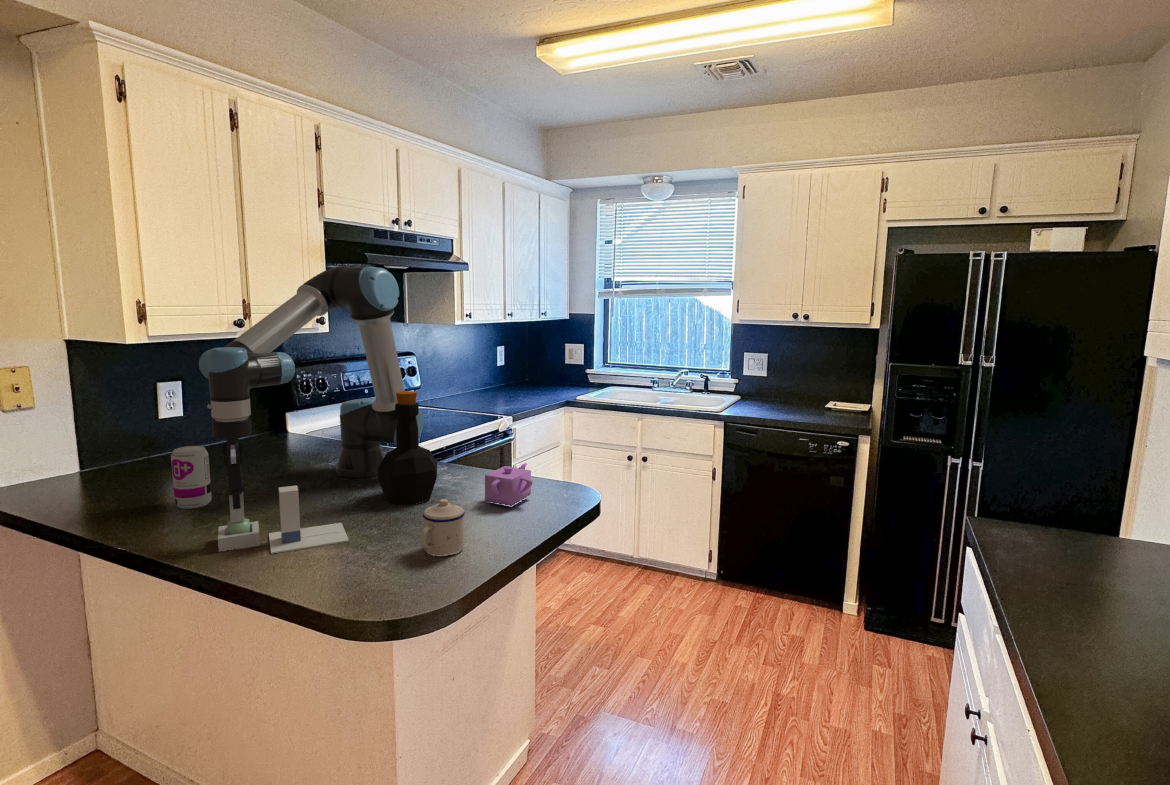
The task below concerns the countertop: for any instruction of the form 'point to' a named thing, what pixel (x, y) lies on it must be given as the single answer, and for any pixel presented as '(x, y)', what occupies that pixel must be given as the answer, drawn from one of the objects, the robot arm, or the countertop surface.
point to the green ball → (238, 527)
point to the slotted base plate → (310, 538)
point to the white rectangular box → (289, 514)
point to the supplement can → (191, 477)
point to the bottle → (407, 458)
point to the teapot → (508, 485)
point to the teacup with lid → (443, 528)
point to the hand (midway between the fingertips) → (237, 520)
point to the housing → (238, 538)
